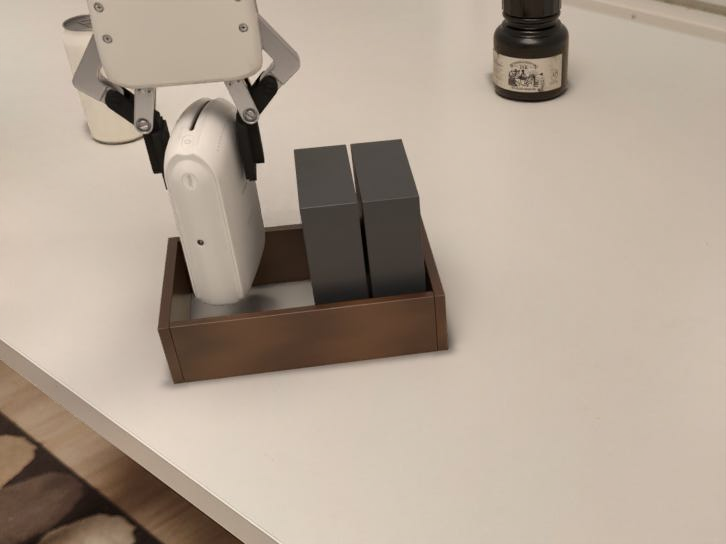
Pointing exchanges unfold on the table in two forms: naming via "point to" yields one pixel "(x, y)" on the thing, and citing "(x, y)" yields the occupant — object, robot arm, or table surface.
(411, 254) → the charcoal box
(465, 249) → the table surface
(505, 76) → the ink bottle
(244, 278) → the photo printer
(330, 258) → the charcoal box
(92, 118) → the can
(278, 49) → the robot arm
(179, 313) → the brown wooden tray
